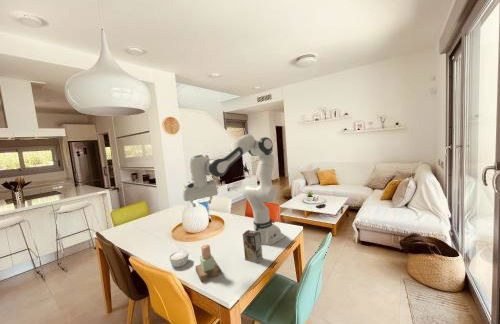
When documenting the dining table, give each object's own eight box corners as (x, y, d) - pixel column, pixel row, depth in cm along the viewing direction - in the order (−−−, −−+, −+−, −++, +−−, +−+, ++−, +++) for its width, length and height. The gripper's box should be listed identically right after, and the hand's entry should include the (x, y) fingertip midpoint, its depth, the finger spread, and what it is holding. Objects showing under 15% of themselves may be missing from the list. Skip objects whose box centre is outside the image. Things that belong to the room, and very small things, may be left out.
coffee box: (263, 258, 125) (260, 232, 123) (257, 263, 120) (255, 236, 118) (250, 254, 130) (248, 229, 128) (244, 259, 125) (242, 234, 123)
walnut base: (214, 264, 123) (214, 259, 122) (221, 274, 113) (220, 268, 113) (196, 271, 118) (195, 266, 118) (201, 281, 108) (200, 276, 108)
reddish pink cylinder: (209, 254, 118) (208, 243, 117) (212, 257, 113) (210, 247, 113) (201, 256, 115) (200, 246, 115) (203, 260, 111) (202, 249, 111)
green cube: (211, 262, 119) (210, 252, 119) (214, 268, 114) (213, 257, 113) (201, 266, 117) (199, 256, 116) (204, 272, 111) (202, 261, 111)
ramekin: (173, 259, 133) (172, 251, 132) (191, 256, 134) (190, 249, 133) (167, 269, 122) (166, 261, 121) (187, 267, 123) (186, 258, 122)
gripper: (214, 179, 132) (216, 200, 134) (181, 184, 123) (184, 207, 124) (217, 180, 127) (220, 202, 128) (183, 186, 117) (186, 210, 119)
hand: (202, 205), depth 126 cm, fingers open, 8 cm apart
